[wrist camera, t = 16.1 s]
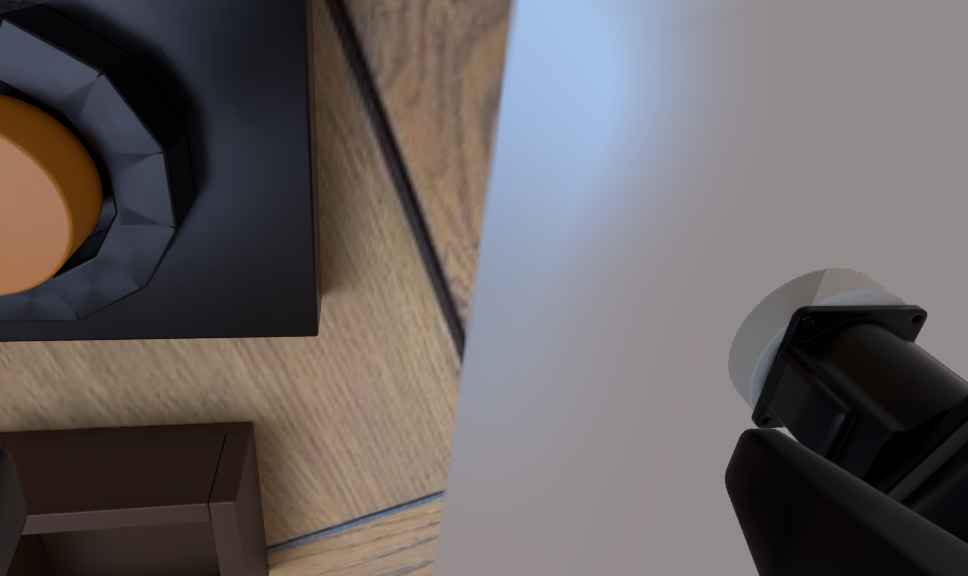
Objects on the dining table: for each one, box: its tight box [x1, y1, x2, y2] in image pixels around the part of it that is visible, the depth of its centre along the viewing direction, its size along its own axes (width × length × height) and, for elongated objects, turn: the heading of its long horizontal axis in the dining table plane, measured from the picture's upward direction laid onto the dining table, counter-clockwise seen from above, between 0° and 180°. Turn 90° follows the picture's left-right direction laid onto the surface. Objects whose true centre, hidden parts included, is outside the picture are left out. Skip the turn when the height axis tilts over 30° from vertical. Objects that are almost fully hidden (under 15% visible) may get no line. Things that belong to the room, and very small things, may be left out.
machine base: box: [0, 0, 322, 342], centre depth 14 cm, size 12×10×4 cm
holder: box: [0, 422, 269, 576], centre depth 21 cm, size 8×8×4 cm
